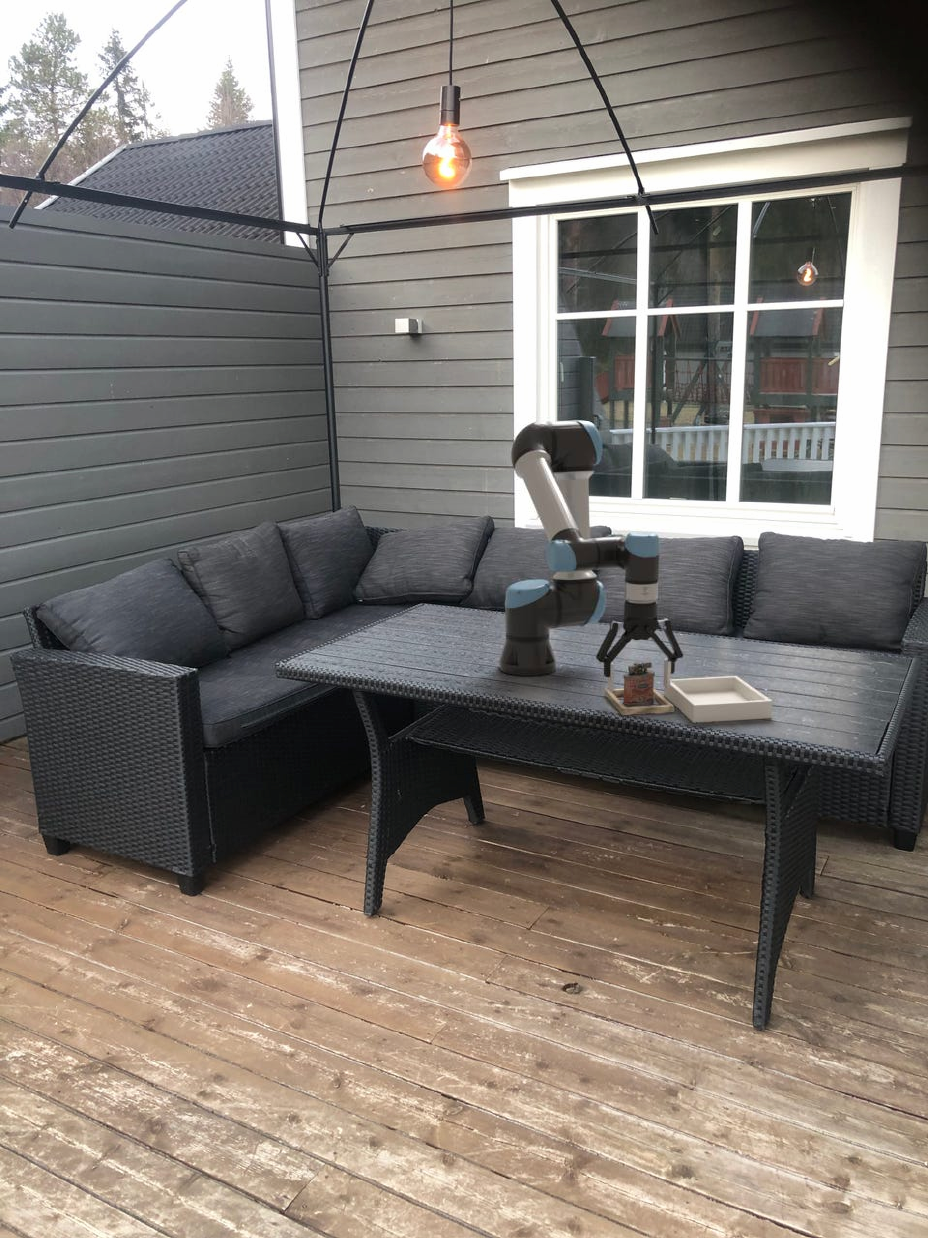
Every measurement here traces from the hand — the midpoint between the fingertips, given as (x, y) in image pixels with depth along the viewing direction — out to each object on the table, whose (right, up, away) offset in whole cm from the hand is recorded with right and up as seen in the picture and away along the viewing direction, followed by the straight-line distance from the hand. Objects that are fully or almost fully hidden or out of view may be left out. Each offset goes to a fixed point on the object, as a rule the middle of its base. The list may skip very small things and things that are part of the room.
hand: (638, 688), depth 227 cm
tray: (+18, -4, -2) cm, 18 cm away
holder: (0, -4, +1) cm, 4 cm away
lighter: (0, -4, +1) cm, 4 cm away
